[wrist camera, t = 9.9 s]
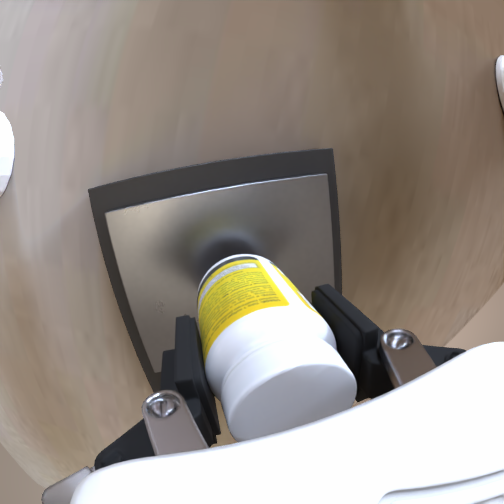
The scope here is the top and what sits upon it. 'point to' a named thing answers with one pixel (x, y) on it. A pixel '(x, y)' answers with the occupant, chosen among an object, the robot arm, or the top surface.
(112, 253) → the scale
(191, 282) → the scale pan
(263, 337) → the supplement bottle
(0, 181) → the mug
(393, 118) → the top surface
